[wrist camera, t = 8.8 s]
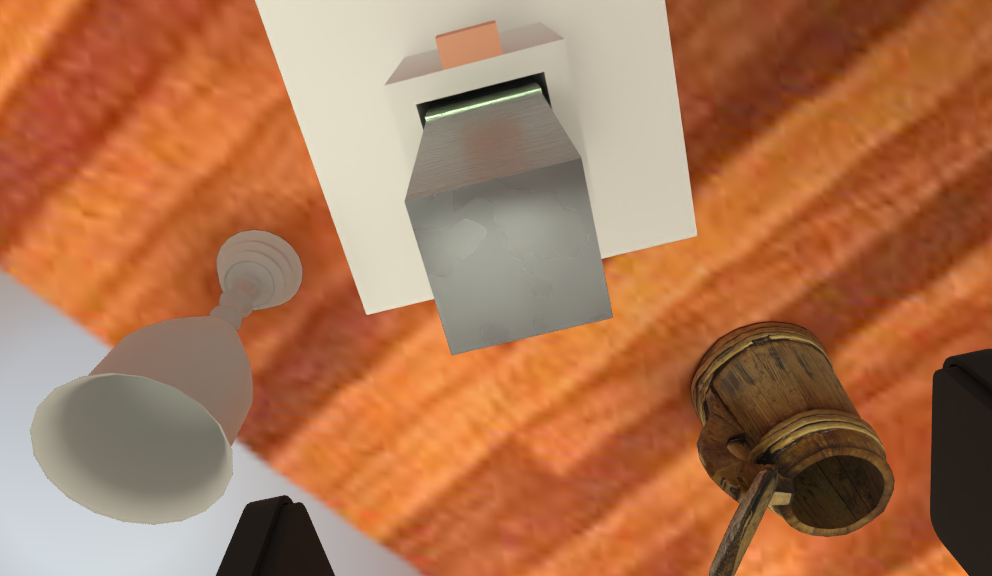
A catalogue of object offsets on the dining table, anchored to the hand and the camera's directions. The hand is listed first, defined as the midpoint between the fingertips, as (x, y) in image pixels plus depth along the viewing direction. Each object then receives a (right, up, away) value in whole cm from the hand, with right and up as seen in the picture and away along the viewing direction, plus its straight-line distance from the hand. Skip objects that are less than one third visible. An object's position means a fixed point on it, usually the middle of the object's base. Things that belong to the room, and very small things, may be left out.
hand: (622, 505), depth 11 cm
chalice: (-16, +4, +33) cm, 37 cm away
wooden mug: (+13, -3, +37) cm, 40 cm away
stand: (-2, +13, +29) cm, 32 cm away
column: (-2, +10, +22) cm, 25 cm away
